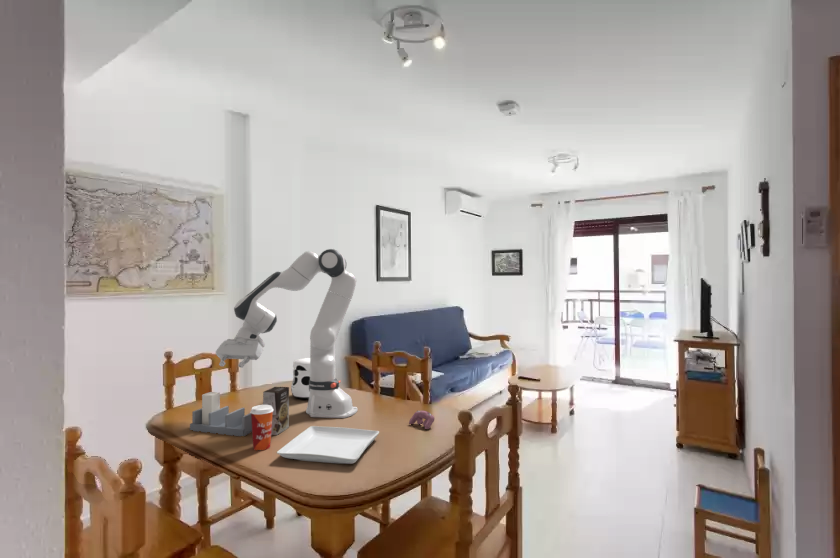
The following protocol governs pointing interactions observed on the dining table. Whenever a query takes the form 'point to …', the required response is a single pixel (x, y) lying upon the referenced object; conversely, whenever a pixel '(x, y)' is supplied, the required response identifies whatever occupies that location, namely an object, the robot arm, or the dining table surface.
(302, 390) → the milk container
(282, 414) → the coffee box
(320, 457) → the square plate
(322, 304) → the robot arm
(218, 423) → the rack
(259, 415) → the paper cup
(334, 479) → the dining table surface
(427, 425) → the purple arched piece
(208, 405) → the cream block
